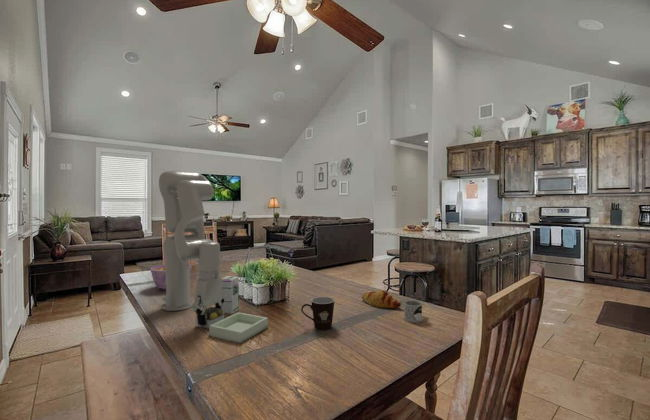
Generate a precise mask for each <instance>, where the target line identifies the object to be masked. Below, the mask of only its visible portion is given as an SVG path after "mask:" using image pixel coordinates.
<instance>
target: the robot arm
mask: <svg viewBox="0 0 650 420" xmlns="http://www.w3.org/2000/svg"><path fill="white" fill-rule="evenodd" d="M158 188H159V192H160V195H161V197H162V200H163V205H164V220H165V221H164V223H165V227H166V231H167V232H169V233H173V234H174V235H172V236H169V237H167V238H166V239H165V240H164V241H163V245H162V248H163V253H164V260H165V265H166V290H165V293H166V294H165V296H163V297H162V298H161V300H162V301H165V303H164V304H163V305H162V309H163V310H164V311H166V312H167V311H168V312H174V311H175V312H177V311H178V312H179V311H184V310H187V309H190V308H191V309H192V310H193V311H194V313H195V315H196V314H198V324H199V325H203V326H204V325H205V314H204V312H205V310H206V308H208V307H212V306H213V305H214V307H215V308H220V309H221V307H222V306H223V302H224V299H225V297H226V294H225V293H224V292H223V289H222V280H221V279H222V277H221V272H222V269H221V245H220V243H219V242H218V241H213V240H212V239H209V238H206V235H205V233H206V232H205V223H204V217H205V209H204V205H203V201H210V200H212V198H214V193H215V191H214V186H213V184H212V183H211V181H209V179H207V178H206V177H205V176H204V175H202V174H201V173H199V172H195V171H193V172H192V171H181V170H179V171H178V170H170V171H163V172H162V173H161V174H160V175H159V177H158ZM185 233H191V234H185ZM193 260H194V261H195V260H198V279H197V280H196V284H195V291H194V292H195V293H194V301H193V300H191V284H190V283H191V279H190V278H191V277H190V275H191V270H190V268H189V265H190V264H189V263H188V261H193ZM201 310H202V311H201Z"/></svg>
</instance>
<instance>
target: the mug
mask: <svg viewBox="0 0 650 420" xmlns="http://www.w3.org/2000/svg"><path fill="white" fill-rule="evenodd" d="M403 302H404V303H403V308H404V310H403V312H404V313H403V315H404V318H403V319H404V321H405V322H406V323H407V322H408V323H411V324H419V323H422V321H423V316H422V315H423V303H422V302H421V301H418V300H405V301H403Z"/></svg>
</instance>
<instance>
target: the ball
mask: <svg viewBox="0 0 650 420" xmlns="http://www.w3.org/2000/svg"><path fill="white" fill-rule="evenodd" d="M217 317H218V315H217V313H211V314H210V320H213V319H215V318H217Z"/></svg>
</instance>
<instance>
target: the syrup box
mask: <svg viewBox="0 0 650 420" xmlns="http://www.w3.org/2000/svg"><path fill="white" fill-rule="evenodd" d="M221 280H222V289H223V292H224V293H225V294H226V297H225V299H224V302H223V306H222V307H221V309H224V314H227V315H228V314H231V315H234V314H235V313H237V311H239V310H240V293H239V291H240V289H239V288H240V287H239V286H240V285H239V283H240V282H239V276H237V275H236V276H235V275H226V276H225V277H221Z"/></svg>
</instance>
